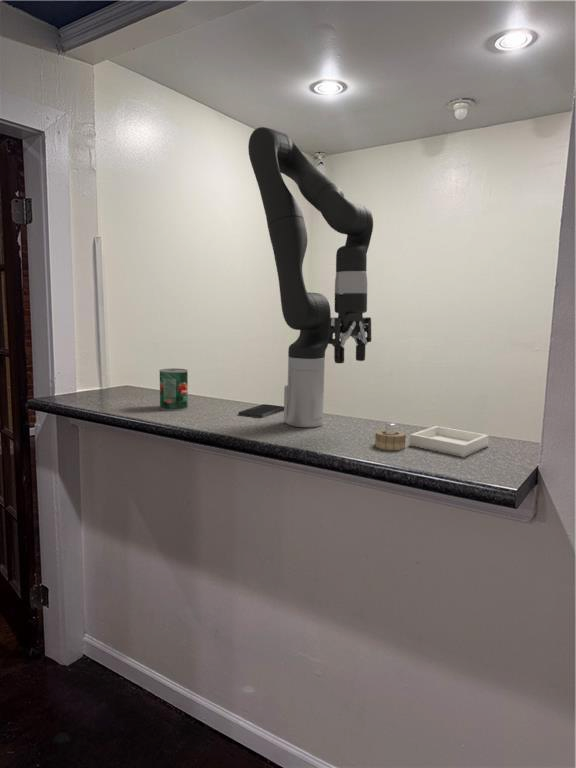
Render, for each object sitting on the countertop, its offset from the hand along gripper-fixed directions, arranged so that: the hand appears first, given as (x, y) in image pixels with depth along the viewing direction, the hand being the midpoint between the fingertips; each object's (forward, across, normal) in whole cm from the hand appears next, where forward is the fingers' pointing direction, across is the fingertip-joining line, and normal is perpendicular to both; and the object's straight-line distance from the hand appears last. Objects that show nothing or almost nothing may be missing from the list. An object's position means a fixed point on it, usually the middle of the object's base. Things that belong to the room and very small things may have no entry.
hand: (350, 361), depth 127 cm
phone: (+17, -3, -32) cm, 36 cm away
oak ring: (+18, +3, +13) cm, 22 cm away
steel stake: (+18, +3, +13) cm, 22 cm away
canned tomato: (+16, +12, -53) cm, 56 cm away
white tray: (+18, -7, +22) cm, 29 cm away
